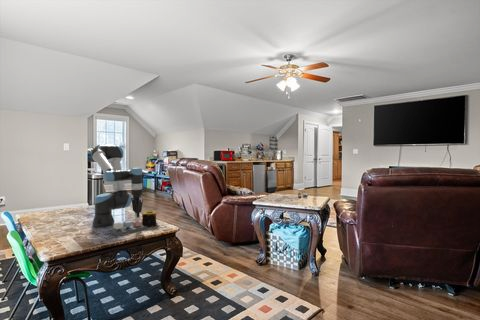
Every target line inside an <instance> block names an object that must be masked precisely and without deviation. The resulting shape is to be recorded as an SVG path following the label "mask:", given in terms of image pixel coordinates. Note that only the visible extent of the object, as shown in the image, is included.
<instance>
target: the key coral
mask: <svg viewBox="0 0 480 320" xmlns="http://www.w3.org/2000/svg"><path fill="white" fill-rule="evenodd" d="M132 222H133V226H135V227H138V226H141V225H142V220H140V221H138V222H135V220H134V221H132Z"/></svg>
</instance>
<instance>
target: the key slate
mask: <svg viewBox="0 0 480 320" xmlns="http://www.w3.org/2000/svg"><path fill="white" fill-rule="evenodd" d="M133 222H134V221H132V220H126V221H123V222H122V223H123V227H124V226H126V227H127V229H129V228H130V226H133Z"/></svg>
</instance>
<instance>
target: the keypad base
mask: <svg viewBox="0 0 480 320" xmlns="http://www.w3.org/2000/svg"><path fill="white" fill-rule="evenodd" d="M147 229H148V227H147V226H144V225H141V226H138V227H135V226H130V228H129V229H127V227H126V226H123V228H120V231H117V229H115V228H112V229H108V233H109V234H111V235H112V236H116V237H120V236H124V235H128V234H133V233H136V232H140V231H145V230H147Z"/></svg>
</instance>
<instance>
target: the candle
mask: <svg viewBox="0 0 480 320" xmlns="http://www.w3.org/2000/svg"><path fill="white" fill-rule="evenodd" d="M141 217H142V220H141V221H142V225H144V226H147V228H151V227H153V228H154V227H156V226H157V210H148V211H147V210H144V211H142V212H141Z"/></svg>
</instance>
